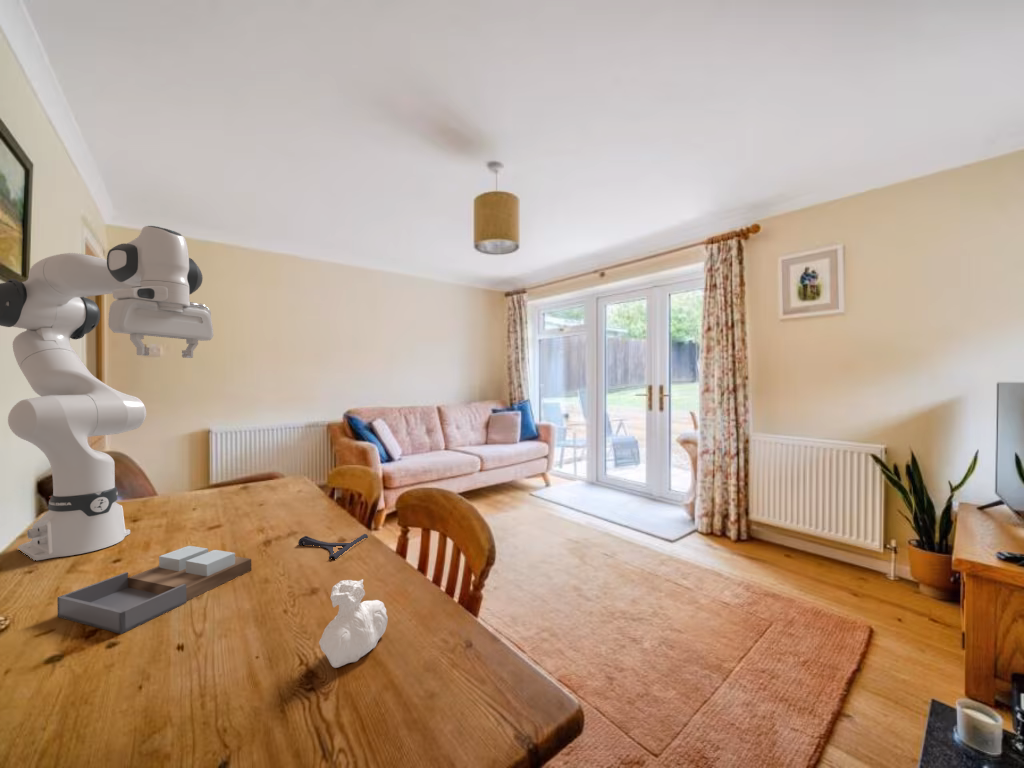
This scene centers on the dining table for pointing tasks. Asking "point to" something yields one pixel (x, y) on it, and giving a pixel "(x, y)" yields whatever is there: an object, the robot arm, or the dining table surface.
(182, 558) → the tile
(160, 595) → the tray
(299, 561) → the dining table surface
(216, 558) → the tile
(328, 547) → the bracket
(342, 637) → the bust
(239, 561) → the board
